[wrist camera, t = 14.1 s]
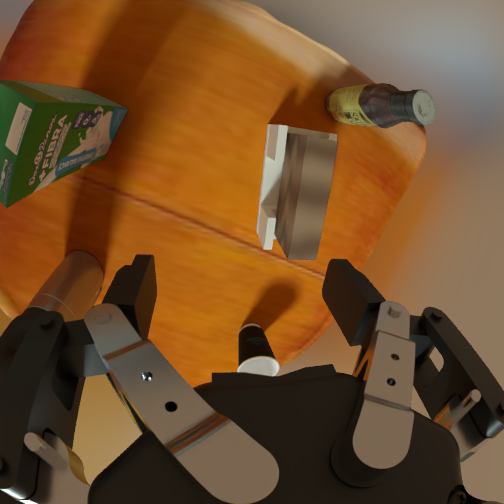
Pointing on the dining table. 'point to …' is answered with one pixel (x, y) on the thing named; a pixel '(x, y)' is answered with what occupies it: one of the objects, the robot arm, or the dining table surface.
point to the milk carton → (50, 134)
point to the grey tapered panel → (304, 194)
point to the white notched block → (275, 177)
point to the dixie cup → (256, 352)
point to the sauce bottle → (380, 106)
